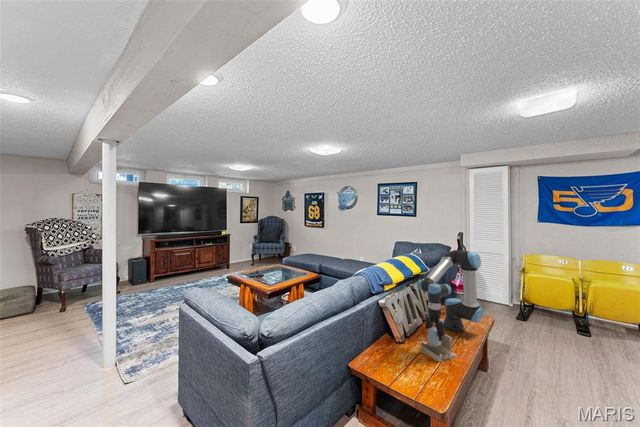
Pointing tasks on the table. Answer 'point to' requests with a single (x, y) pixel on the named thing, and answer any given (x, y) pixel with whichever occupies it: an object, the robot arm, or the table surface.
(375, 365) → the table surface
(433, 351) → the grey slotted stand
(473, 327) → the table surface
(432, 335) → the grey rectangular block
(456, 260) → the robot arm
